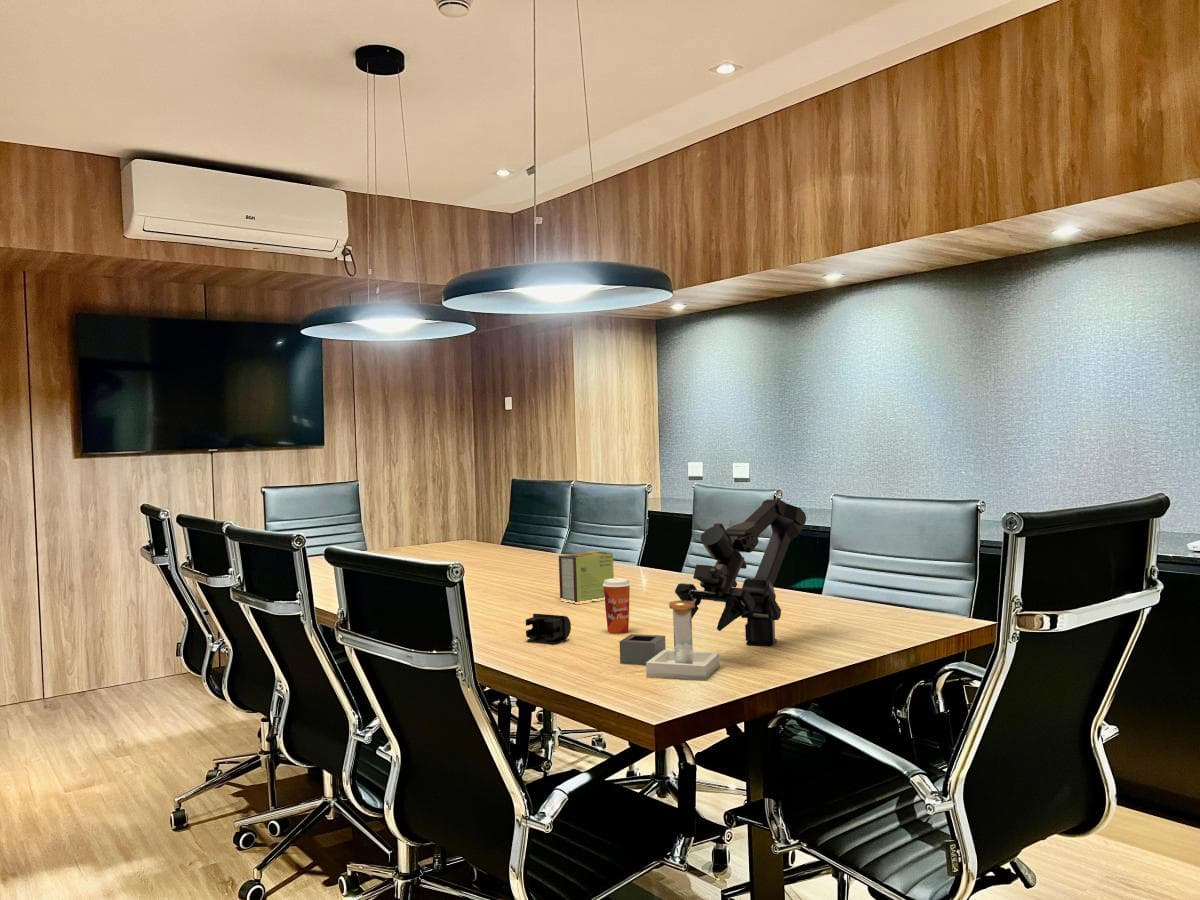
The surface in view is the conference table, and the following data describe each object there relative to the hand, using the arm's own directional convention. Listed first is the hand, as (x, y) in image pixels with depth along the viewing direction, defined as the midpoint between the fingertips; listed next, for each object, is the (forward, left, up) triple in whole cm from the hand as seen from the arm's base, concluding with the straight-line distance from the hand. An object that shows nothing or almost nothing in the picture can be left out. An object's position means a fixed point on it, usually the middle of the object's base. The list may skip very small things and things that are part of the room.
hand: (700, 627), depth 199 cm
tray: (+2, +7, -8) cm, 11 cm away
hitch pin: (+2, +7, -7) cm, 10 cm away
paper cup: (+31, -31, -9) cm, 45 cm away
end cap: (+45, -16, -9) cm, 49 cm away
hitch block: (+14, -1, -8) cm, 17 cm away
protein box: (+59, -78, -9) cm, 99 cm away
